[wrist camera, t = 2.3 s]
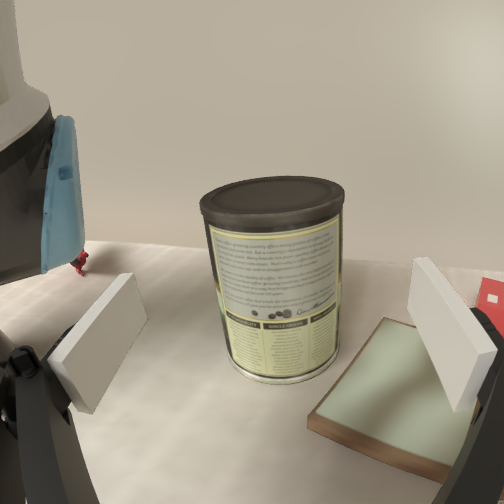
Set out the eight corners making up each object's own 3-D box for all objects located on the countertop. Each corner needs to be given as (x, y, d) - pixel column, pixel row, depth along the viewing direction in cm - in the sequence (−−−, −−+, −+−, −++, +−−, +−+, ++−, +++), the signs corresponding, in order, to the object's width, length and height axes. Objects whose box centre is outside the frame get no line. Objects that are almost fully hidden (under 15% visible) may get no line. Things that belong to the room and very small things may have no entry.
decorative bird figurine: (77, 259, 52) (62, 206, 48) (110, 293, 40) (90, 222, 36) (63, 265, 51) (47, 212, 46) (92, 301, 39) (69, 230, 34)
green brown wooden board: (307, 427, 20) (307, 414, 19) (381, 329, 29) (383, 315, 28) (567, 509, 6) (581, 498, 6) (576, 384, 15) (584, 371, 14)
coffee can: (208, 337, 31) (179, 194, 25) (295, 300, 35) (287, 170, 29) (264, 406, 22) (242, 227, 17) (363, 348, 27) (375, 190, 21)
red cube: (463, 348, 24) (478, 302, 22) (471, 319, 27) (483, 275, 25) (508, 361, 21) (528, 315, 19) (511, 330, 24) (526, 286, 22)
